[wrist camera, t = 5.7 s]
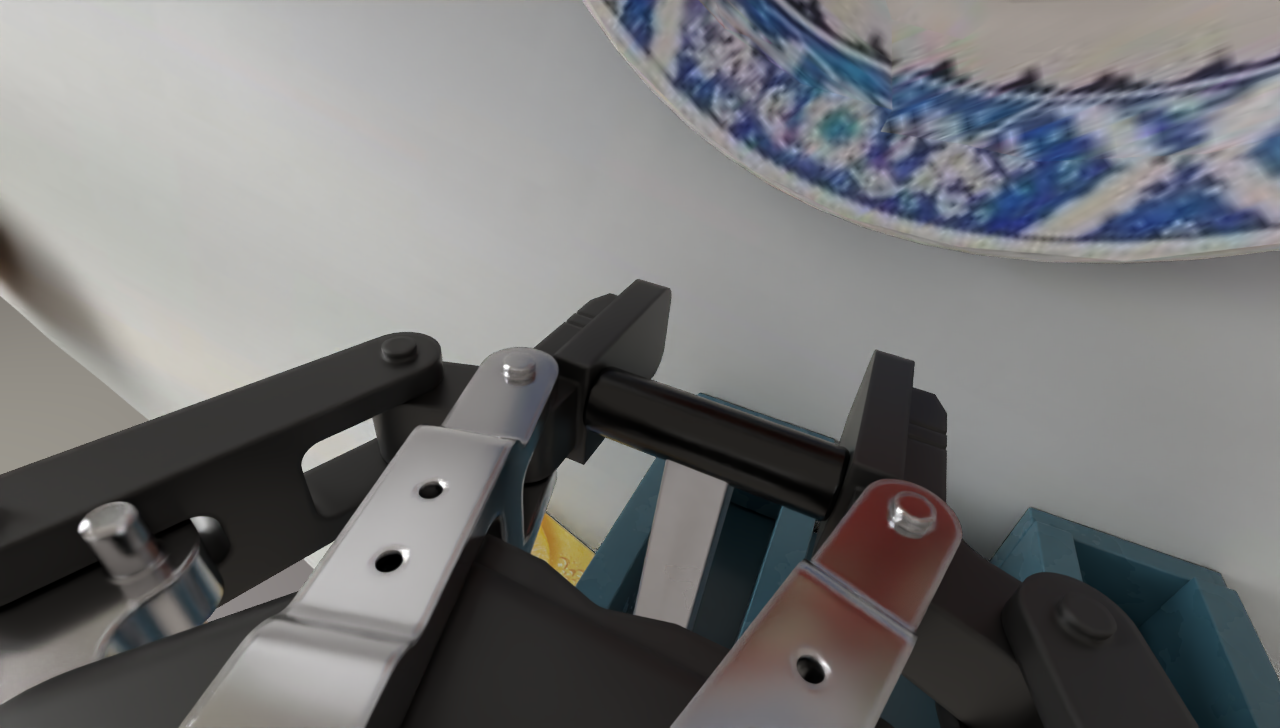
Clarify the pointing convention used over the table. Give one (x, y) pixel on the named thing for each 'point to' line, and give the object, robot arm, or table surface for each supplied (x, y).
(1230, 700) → the bracket
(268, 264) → the table surface
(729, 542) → the toaster
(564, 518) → the table surface
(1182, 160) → the ceramic plate
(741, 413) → the lever
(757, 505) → the bracket
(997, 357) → the table surface
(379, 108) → the table surface
